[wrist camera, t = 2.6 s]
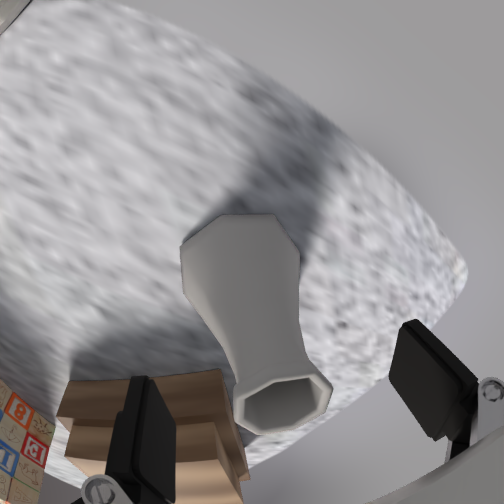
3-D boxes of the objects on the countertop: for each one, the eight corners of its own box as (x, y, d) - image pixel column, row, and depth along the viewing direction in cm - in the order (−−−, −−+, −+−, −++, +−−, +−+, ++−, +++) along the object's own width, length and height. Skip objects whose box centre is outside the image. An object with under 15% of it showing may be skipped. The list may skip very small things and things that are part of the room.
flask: (283, 192, 16) (390, 266, 6) (309, 299, 18) (385, 416, 9) (159, 235, 15) (112, 361, 6) (205, 334, 18) (217, 473, 9)
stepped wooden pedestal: (68, 380, 18) (46, 447, 12) (220, 368, 19) (231, 450, 13) (128, 456, 23) (125, 508, 17) (244, 448, 24) (255, 504, 18)
